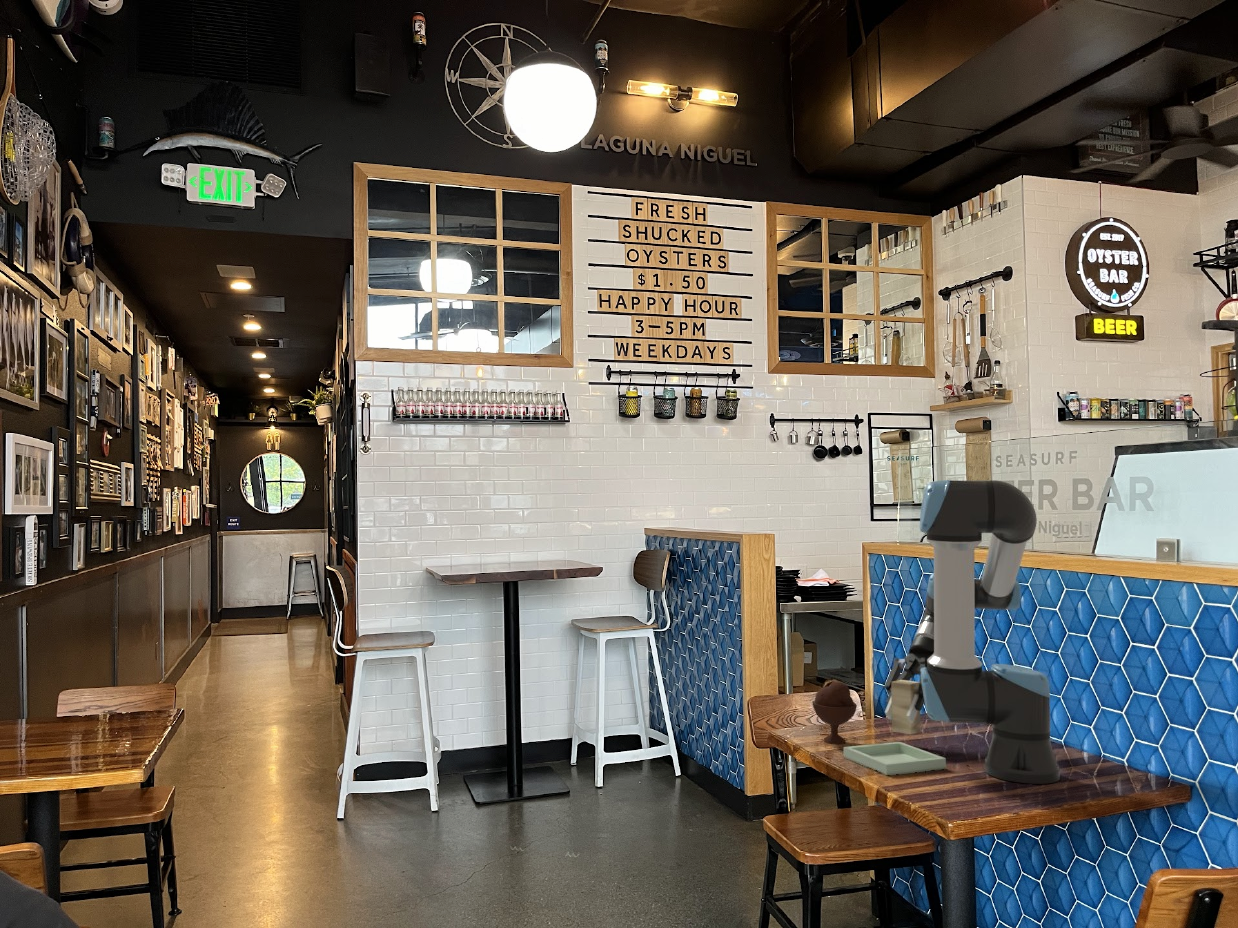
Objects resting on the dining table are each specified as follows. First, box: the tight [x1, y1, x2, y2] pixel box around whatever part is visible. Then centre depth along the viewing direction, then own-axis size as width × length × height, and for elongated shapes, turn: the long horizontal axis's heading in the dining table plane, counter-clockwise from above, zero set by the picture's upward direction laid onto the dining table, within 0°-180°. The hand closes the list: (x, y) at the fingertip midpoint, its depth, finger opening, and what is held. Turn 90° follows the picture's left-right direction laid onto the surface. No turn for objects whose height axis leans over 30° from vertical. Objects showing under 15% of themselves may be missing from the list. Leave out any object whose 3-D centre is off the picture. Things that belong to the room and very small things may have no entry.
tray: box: [843, 741, 947, 776], centre depth 209 cm, size 16×16×2 cm
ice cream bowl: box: [811, 681, 858, 745], centre depth 230 cm, size 11×11×15 cm
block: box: [891, 680, 921, 735], centre depth 226 cm, size 5×5×12 cm
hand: (898, 717), depth 223 cm, fingers closed on block, 5 cm apart
